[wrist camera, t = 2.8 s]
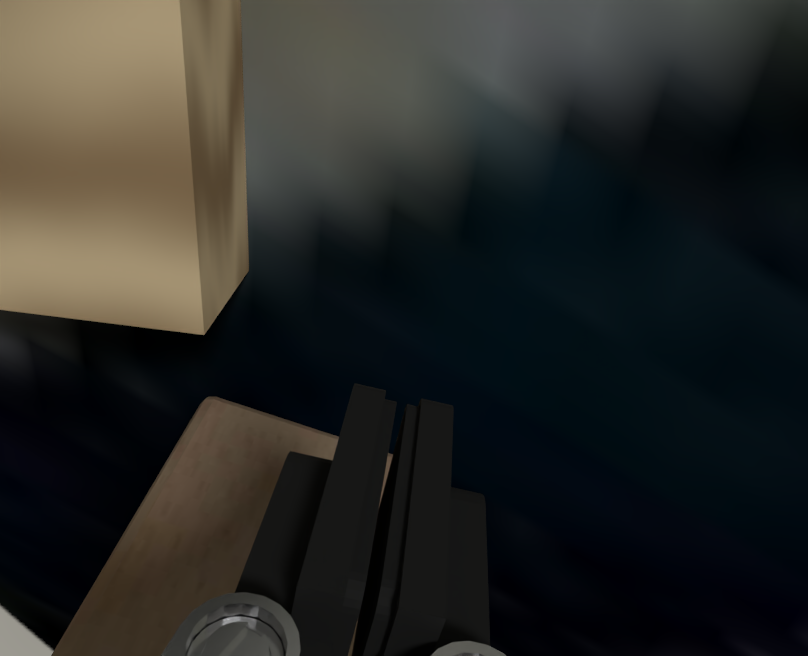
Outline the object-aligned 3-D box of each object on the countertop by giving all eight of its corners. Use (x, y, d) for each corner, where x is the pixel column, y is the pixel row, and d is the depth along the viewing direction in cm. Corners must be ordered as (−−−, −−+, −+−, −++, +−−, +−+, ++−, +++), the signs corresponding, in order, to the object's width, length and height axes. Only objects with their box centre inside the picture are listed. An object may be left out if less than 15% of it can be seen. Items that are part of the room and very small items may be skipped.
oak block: (-55, -71, 19) (-208, -83, 15) (241, -39, 19) (176, -39, 14) (16, 239, 24) (-82, 299, 20) (250, 267, 24) (203, 334, 19)
